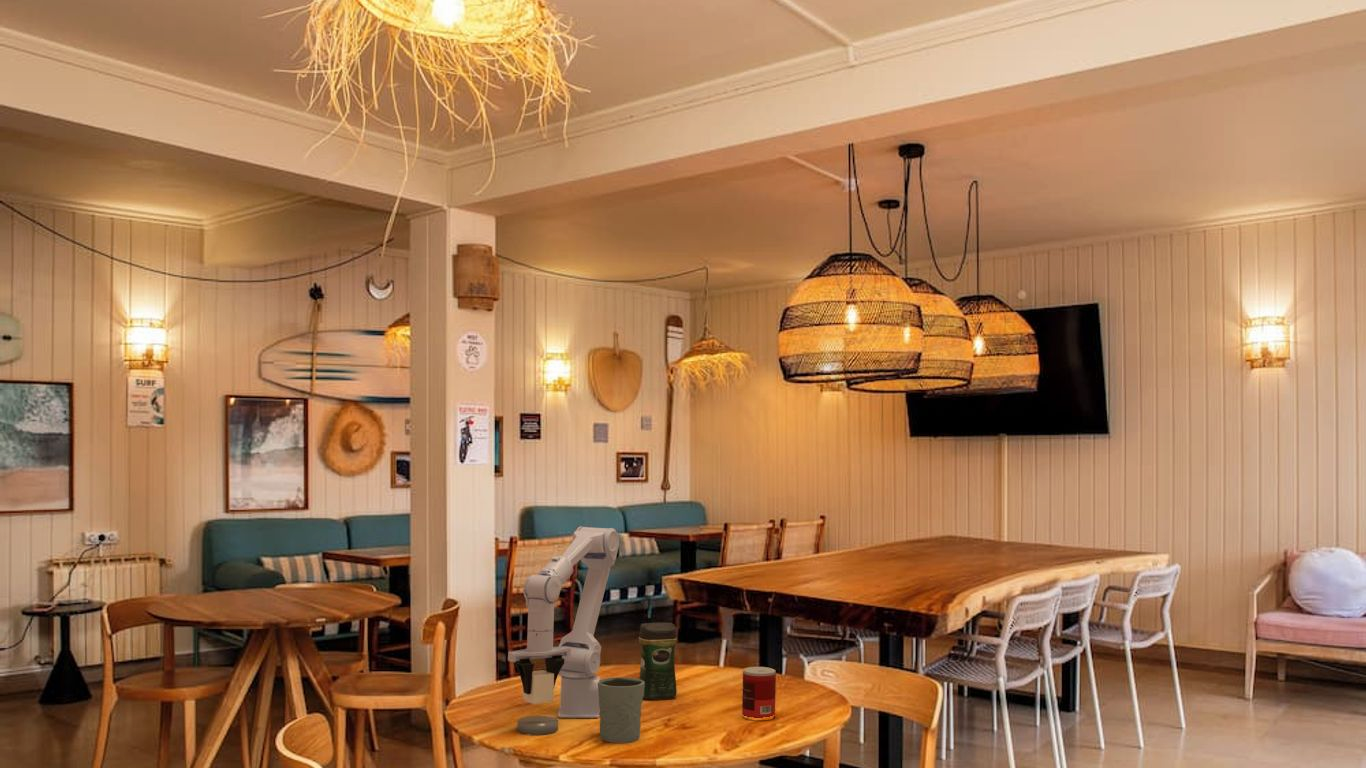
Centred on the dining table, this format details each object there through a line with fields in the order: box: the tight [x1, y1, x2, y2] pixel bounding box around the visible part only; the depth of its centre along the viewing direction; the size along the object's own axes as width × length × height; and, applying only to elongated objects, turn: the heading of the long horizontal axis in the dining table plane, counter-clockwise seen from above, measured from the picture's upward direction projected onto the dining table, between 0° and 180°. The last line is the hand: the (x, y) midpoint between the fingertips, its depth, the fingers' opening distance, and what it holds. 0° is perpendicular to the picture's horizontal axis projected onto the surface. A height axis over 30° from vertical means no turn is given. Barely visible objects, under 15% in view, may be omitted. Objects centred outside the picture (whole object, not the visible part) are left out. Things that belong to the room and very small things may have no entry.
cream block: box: [522, 669, 555, 705], centre depth 235 cm, size 5×5×6 cm
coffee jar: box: [638, 622, 678, 700], centre depth 269 cm, size 10×8×19 cm
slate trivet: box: [516, 715, 559, 736], centre depth 235 cm, size 9×9×2 cm
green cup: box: [598, 676, 644, 744], centre depth 230 cm, size 10×10×12 cm
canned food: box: [741, 666, 777, 718], centre depth 251 cm, size 8×8×11 cm
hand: (538, 691), depth 235 cm, fingers closed on cream block, 5 cm apart
